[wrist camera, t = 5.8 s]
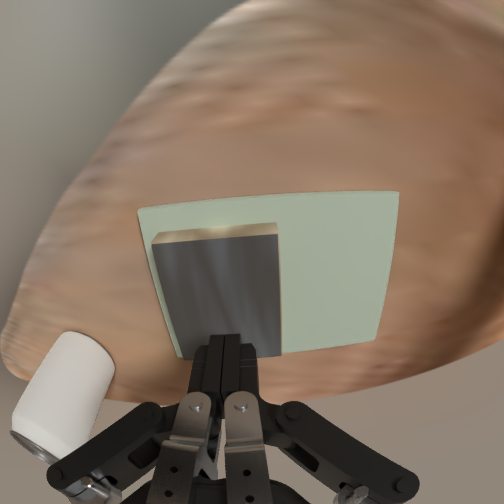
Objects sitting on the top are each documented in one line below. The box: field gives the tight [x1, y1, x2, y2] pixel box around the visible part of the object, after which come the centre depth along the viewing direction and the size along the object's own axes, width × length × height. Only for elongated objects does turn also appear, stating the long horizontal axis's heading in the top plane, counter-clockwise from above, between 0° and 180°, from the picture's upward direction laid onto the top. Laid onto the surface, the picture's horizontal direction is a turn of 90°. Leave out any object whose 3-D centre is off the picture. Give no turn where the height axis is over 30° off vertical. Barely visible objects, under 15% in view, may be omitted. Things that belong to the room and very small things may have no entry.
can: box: [10, 331, 115, 465], centre depth 16 cm, size 6×6×12 cm
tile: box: [151, 222, 282, 360], centre depth 17 cm, size 2×9×7 cm
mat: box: [137, 191, 399, 357], centre depth 18 cm, size 16×12×1 cm
